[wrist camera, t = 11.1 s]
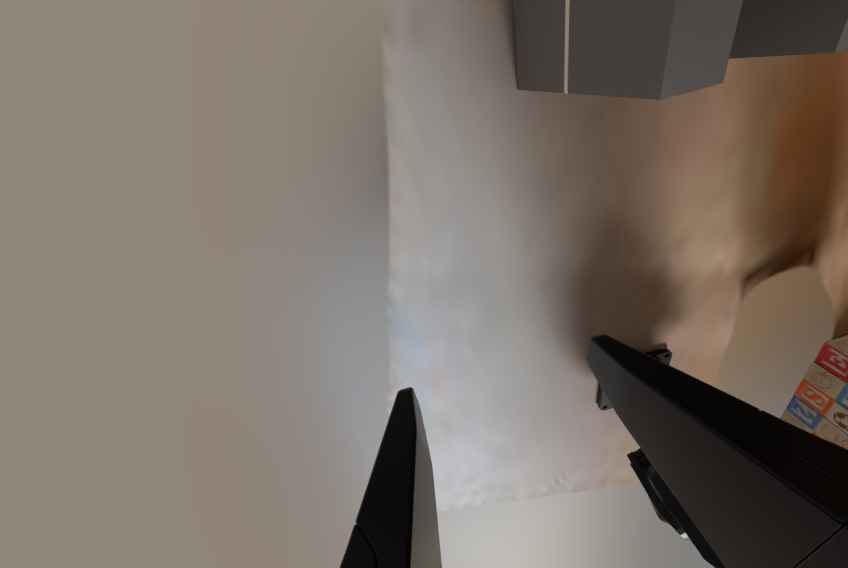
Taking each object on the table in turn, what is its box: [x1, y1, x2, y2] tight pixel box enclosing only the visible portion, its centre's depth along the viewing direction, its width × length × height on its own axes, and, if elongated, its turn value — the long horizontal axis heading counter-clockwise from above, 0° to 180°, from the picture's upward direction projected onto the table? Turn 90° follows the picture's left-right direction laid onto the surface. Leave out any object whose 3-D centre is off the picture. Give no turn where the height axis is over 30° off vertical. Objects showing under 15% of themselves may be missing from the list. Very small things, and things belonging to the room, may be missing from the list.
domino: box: [513, 0, 743, 99], centre depth 12 cm, size 5×2×10 cm, turn 13°
